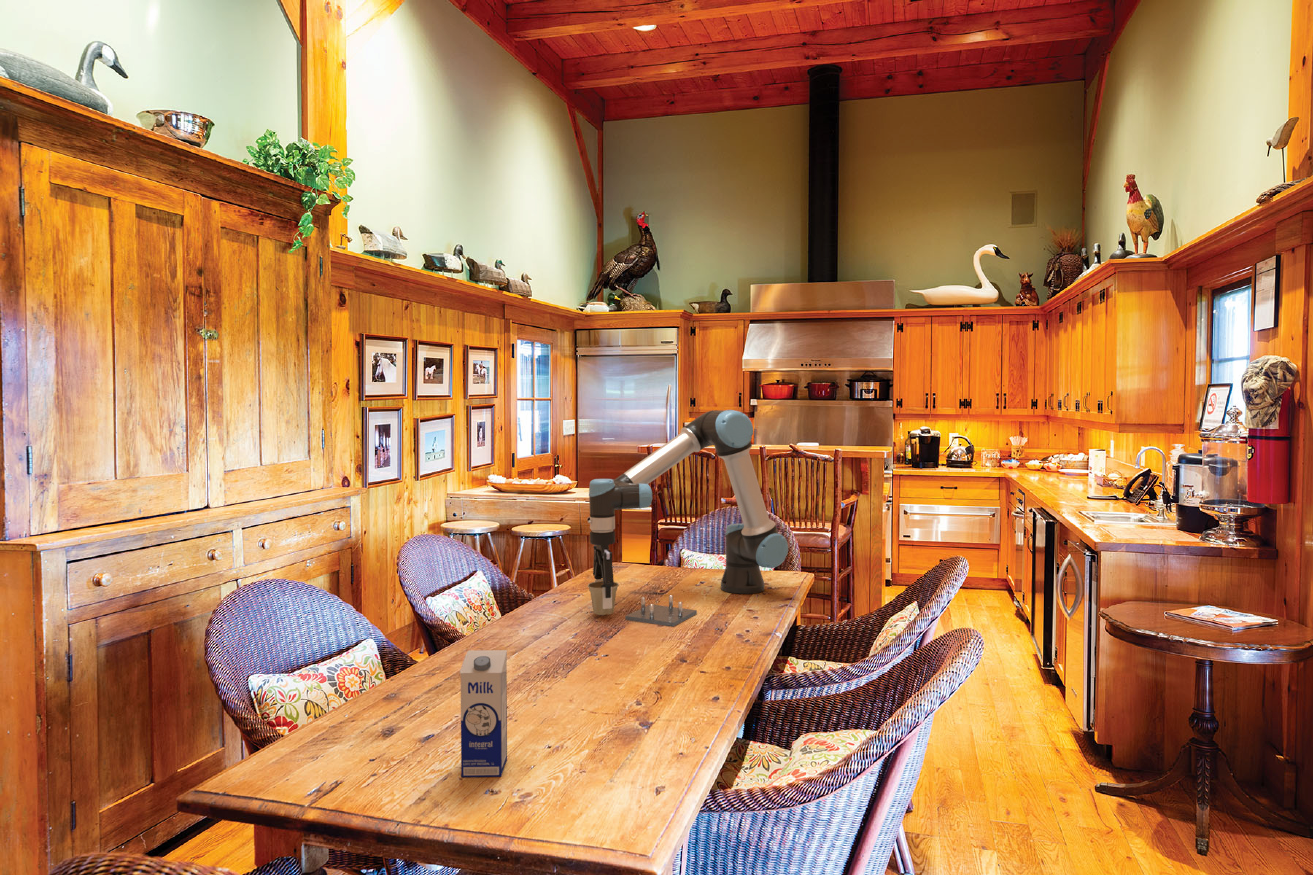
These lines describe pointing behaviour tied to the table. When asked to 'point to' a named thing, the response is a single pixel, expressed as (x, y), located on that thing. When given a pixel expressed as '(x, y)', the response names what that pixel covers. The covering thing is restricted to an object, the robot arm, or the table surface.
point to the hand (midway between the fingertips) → (603, 604)
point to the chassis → (661, 614)
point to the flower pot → (601, 598)
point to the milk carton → (484, 713)
